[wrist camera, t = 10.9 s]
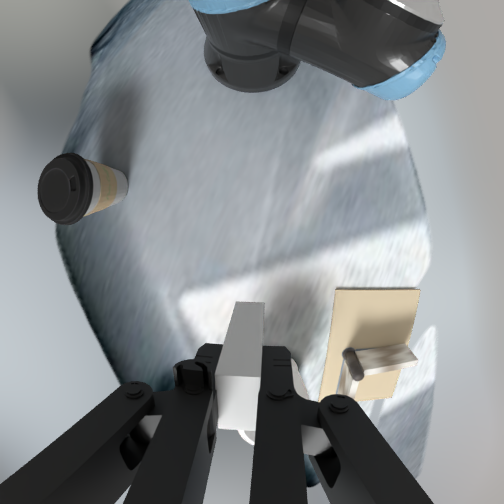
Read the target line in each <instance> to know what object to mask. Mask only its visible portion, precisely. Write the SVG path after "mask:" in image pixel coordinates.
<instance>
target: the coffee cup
mask: <svg viewBox="0 0 504 504" xmlns="http://www.w3.org/2000/svg"><path fill="white" fill-rule="evenodd" d="M127 191H128V182H127V179H126V176H125V175H124V173H122V172H121V171H119V170H116V169H113V168H110V167H108V166H106V165H104V164H100V163H97V162H94V161H90V160H86V159H84V158H82V157H81V156H80V155H78V154H75V153H66V154H61V155H59V156H57V157H56V158H54V159H53V160H52V161H51V162H50V163H49V164H47V166H46V167H45V168H44V170H43V171H42V173H41V176H40V179H39V183H38V200H39V204H40V207H41V209H42V211H43V212H44V214H45V215H46V216H47V217H49V218H50V219H51V220H52V221H54V222H55V223H58V224H61V225H71V224H74V223H76V222H78V221H79V220H80V219H81V218H82V217H83V216H86V215H89V214H92V213H94V212H97V211H100V210H103V209H105V208H107V207H108V206H111V205H114V204H117V203H119V202H121V201H122V200H123V199H124V198H125V196H126V194H127Z"/></svg>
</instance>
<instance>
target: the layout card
mask: <svg viewBox="0 0 504 504" xmlns="http://www.w3.org/2000/svg"><path fill="white" fill-rule="evenodd" d="M419 295H420V289H395V290H350V289H335V298H334V306H333V314H332V322H331V329H330V336H329V342H328V349H327V355H326V361H325V367H324V373H323V378H322V384H321V389H320V394H319V399H318V402H320V401H321V400H322V399H323V398H324V397H326V396H329V395H332V394H337V392H338V388H339V384H340V379H341V375H342V370H343V365H344V360H345V359H344V358H343V352H344V351H345V350H346V349H348V348H353V349H354V350H355V351H361V350H368V349H375V348H381V347H387V346H393V345H398V344H404V343H405V344H406V345H407V346H408V343H409V340H410V336H411V332H412V328H413V324H414V320H415V315H416V310H417V306H418V301H419ZM400 371H401V369H399V370H394V371H389V372H384V373H378V374H373V375H367V376H364V378H363V379H362V380H361V381H359V384H358V388H357V391H356V395H355V398H354V400H355V401H366V400H376V399H384V398H392V395H393V392H394V389H395V386H396V384H397V381H398V377H399V374H400Z"/></svg>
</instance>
